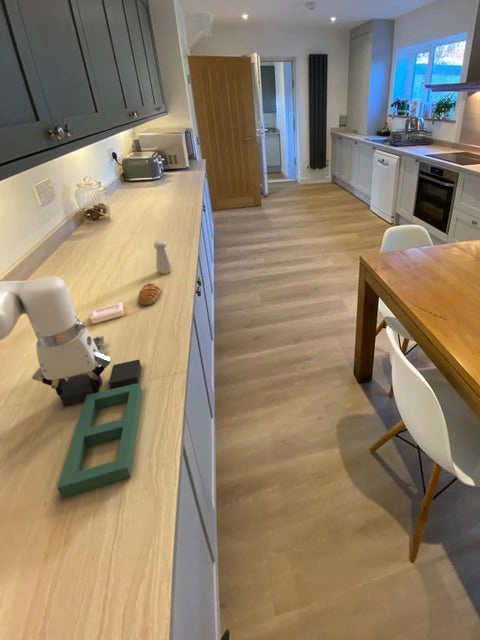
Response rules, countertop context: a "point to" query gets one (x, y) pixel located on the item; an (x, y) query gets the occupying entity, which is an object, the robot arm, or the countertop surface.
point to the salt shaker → (162, 258)
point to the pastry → (149, 293)
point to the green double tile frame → (91, 435)
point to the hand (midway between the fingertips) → (81, 391)
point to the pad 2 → (125, 374)
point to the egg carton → (99, 345)
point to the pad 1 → (76, 390)
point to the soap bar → (106, 313)
